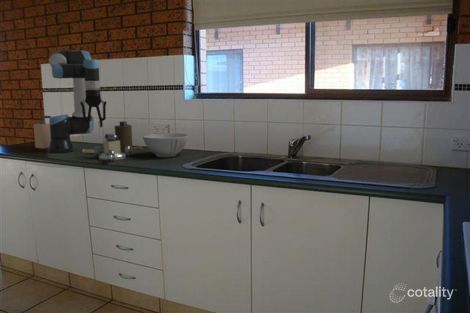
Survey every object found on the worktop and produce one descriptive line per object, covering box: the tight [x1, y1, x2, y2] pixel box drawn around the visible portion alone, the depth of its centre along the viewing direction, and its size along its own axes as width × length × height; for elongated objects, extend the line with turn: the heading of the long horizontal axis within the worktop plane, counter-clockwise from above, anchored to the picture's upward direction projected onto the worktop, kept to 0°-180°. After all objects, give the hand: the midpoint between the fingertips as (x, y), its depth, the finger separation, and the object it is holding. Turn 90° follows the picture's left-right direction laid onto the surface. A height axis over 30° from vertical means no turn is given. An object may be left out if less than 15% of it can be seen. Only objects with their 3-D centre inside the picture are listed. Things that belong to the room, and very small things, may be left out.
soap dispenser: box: [32, 115, 52, 149], centre depth 293 cm, size 13×9×22 cm
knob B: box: [81, 146, 101, 159], centre depth 251 cm, size 12×3×6 cm, turn 73°
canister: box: [114, 120, 134, 155], centre depth 262 cm, size 11×10×20 cm
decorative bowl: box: [142, 132, 189, 158], centre depth 255 cm, size 27×27×12 cm
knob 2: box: [125, 145, 144, 157], centre depth 257 cm, size 12×3×6 cm, turn 133°
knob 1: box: [108, 150, 116, 162], centre depth 233 cm, size 12×3×6 cm, turn 13°
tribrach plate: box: [98, 133, 127, 162], centre depth 247 cm, size 15×15×14 cm
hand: (95, 133), depth 227 cm, fingers open, 4 cm apart
